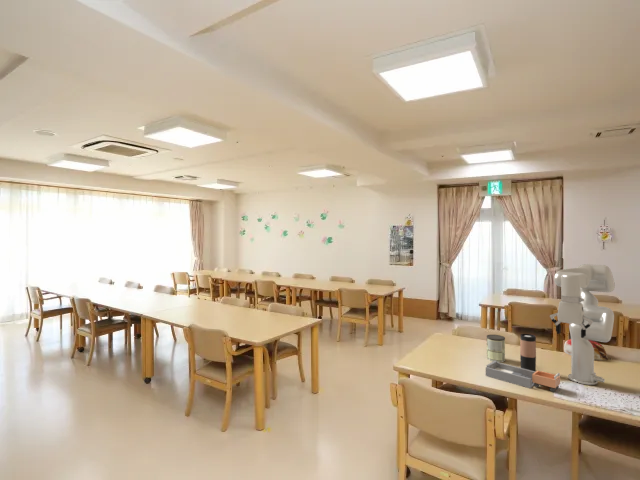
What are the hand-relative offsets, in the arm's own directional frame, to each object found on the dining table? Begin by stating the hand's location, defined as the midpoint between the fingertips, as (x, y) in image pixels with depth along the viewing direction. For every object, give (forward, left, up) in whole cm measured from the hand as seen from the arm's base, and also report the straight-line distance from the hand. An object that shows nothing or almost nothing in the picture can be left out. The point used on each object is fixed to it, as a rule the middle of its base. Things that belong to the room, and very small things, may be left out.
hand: (570, 335), depth 169 cm
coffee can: (+44, -24, -29) cm, 58 cm away
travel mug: (+24, -18, -29) cm, 42 cm away
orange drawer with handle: (+10, 0, -28) cm, 30 cm away
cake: (+8, -76, -29) cm, 82 cm away
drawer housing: (+26, 0, -28) cm, 39 cm away
